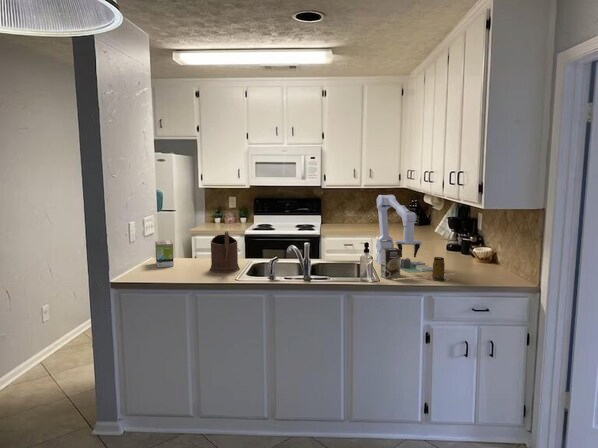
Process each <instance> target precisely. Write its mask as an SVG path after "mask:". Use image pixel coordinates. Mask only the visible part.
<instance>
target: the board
mask: <svg viewBox="0 0 598 448" xmlns="http://www.w3.org/2000/svg"><path fill="white" fill-rule="evenodd" d="M400 271H404V272H406V273H409V274H414V273H423V272H424V273H427V272H433V265H429V264H425V265H417V266H416V268H415V267H412V266H410V268H401V265H400Z"/></svg>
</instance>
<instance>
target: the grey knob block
mask: <svg viewBox="0 0 598 448" xmlns="http://www.w3.org/2000/svg"><path fill="white" fill-rule="evenodd" d="M417 265H426V263H425V262H422V261H419V260H416V261H411V262H410V266H412V267H415V268H416V266H417Z"/></svg>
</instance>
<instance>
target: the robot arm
mask: <svg viewBox="0 0 598 448" xmlns="http://www.w3.org/2000/svg"><path fill="white" fill-rule="evenodd" d="M391 207H392V208H394V209H395V210H396V211H395V212H396V214H397V215H398V216H400V218H401V221H402V225H403V235H402V236H403V237H402V238H403V240H395V242H393V238H392V237H391V236H390V233H389V224H388V223H389V219H388V209H390V208H391ZM376 208H377V210H378V211H377V212H378V224H379V225H378V226H379V237H377V239H376V243H375V248H376V250H377V252H376V257H375V259H376V260H375V262H376V264H378V265H380V266H381V251H382V248H395V245H396V247H397V248H398V249H401V258H403V245H404V246H405V245H407V246H409V245H410V246H411V245H412V246H413V250H414V251H413V258H416V257H417V254H418V251H419V249H420V246H422V243H423V242H422V240H415V237H414V236H415V223H416V222H417V219H418V218H417V217H418V216H417V214H416V213H415V212H413V211H410V209H408V208H407V207H406V205H403V204H402V205H401V204H400V202H398V200H397V198H396V196H395V195H394V194H386V195H385V194H379V195H378V196H377V198H376Z"/></svg>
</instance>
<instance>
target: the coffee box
mask: <svg viewBox="0 0 598 448" xmlns="http://www.w3.org/2000/svg"><path fill="white" fill-rule="evenodd" d="M401 259H402V257H401V249H398V247H394V248H382V251H381V265H380V277H382V278H383V279H386V280H389V279H392V278H394V277H395V278H397V277H400V276H401V269H400V266H401Z"/></svg>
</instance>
